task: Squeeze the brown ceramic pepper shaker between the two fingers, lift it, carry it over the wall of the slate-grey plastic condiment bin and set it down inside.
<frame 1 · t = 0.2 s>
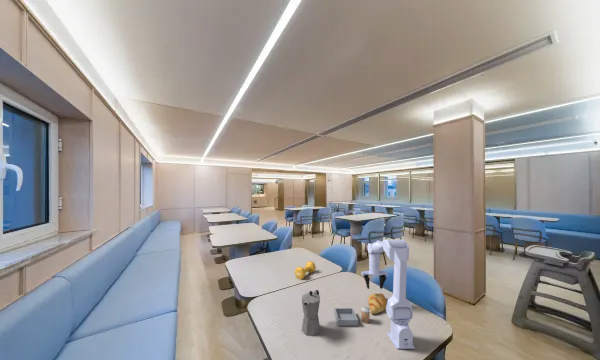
hand: (374, 288, 118), 10 cm above the table, fingers open, 7 cm apart
shaker: (365, 320, 104), on the table
coffeepot: (311, 328, 99), on the table
dumbbell: (305, 275, 159), on the table
croissant: (376, 306, 118), on the table
bin: (345, 319, 105), on the table
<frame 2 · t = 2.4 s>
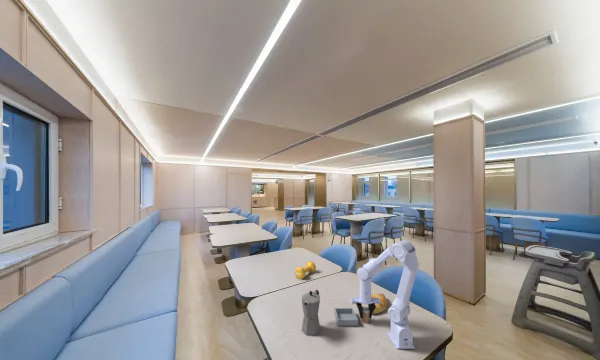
hand: (365, 317, 105), 2 cm above the table, fingers closed on shaker, 4 cm apart
shaker: (365, 320, 104), on the table, touching gripper
everything else where it was.
when the fingers open (4 cm above the table, at t = 5.2 s): shaker drops 1 cm, resting on bin.
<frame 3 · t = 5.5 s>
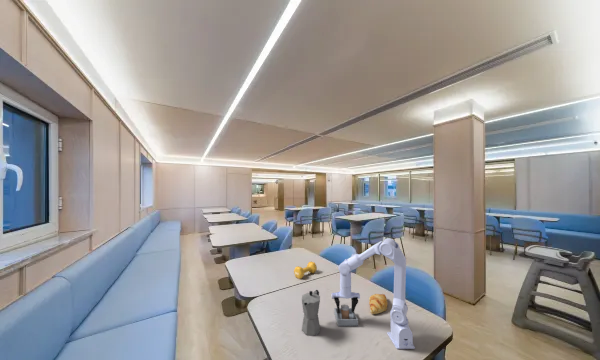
hand: (345, 311, 105), 4 cm above the table, fingers open, 7 cm apart
shaker: (345, 318, 105), point 1 cm above the table, touching bin
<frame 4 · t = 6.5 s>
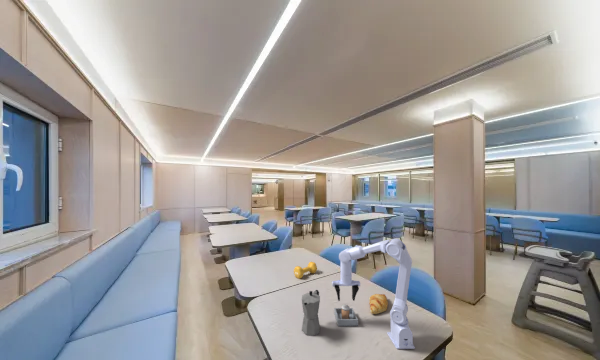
hand: (346, 299, 106), 10 cm above the table, fingers open, 7 cm apart
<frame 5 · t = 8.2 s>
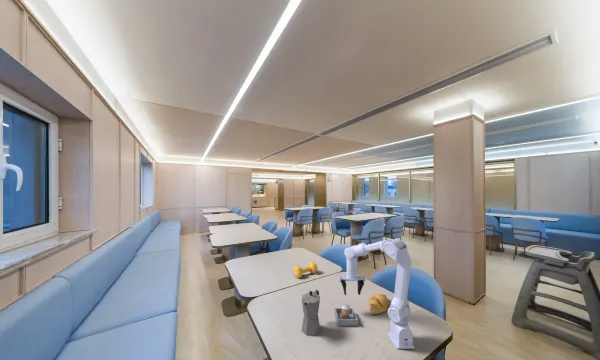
hand: (352, 294, 112), 10 cm above the table, fingers open, 7 cm apart
at the end: shaker inside the target area on the bin (0.1 cm from its centre), point 0.5 cm above the bin's base; shaker tilted 0°; the gripper is holding nothing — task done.
